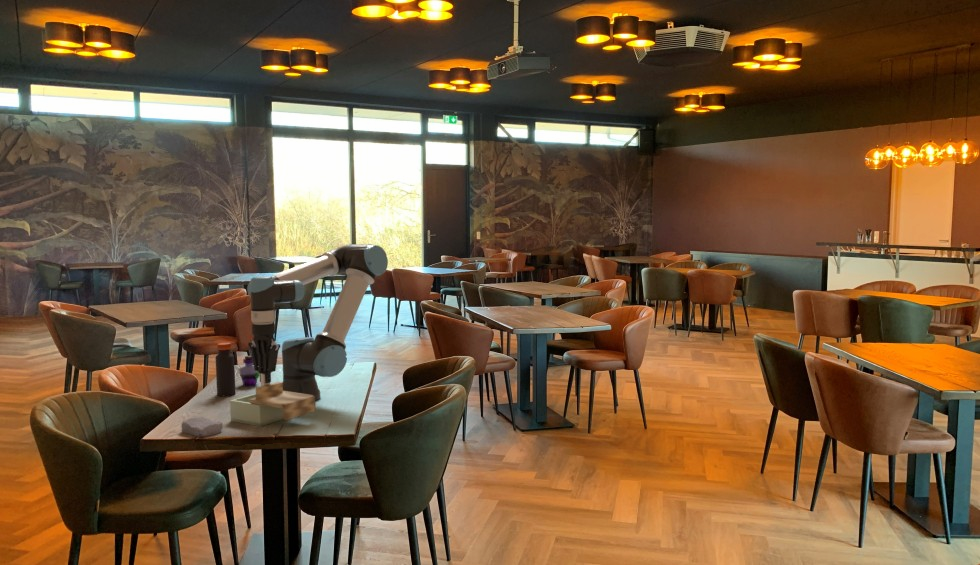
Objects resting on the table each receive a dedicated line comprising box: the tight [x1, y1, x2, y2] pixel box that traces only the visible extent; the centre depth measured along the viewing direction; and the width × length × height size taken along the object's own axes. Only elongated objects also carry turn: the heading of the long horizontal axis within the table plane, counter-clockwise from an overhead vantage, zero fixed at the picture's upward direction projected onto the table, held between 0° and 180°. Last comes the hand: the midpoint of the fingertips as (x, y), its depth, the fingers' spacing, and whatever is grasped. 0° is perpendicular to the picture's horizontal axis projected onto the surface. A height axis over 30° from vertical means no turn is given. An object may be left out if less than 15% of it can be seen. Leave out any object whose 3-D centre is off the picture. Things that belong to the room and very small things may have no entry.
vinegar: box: [215, 342, 237, 397], centre depth 277 cm, size 7×7×20 cm
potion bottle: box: [238, 355, 260, 387], centre depth 294 cm, size 9×9×12 cm
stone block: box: [181, 416, 224, 438], centre depth 229 cm, size 12×5×10 cm
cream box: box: [229, 393, 284, 427], centre depth 243 cm, size 14×14×7 cm
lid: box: [249, 381, 316, 421], centre depth 237 cm, size 14×16×8 cm
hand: (265, 392), depth 241 cm, fingers closed
